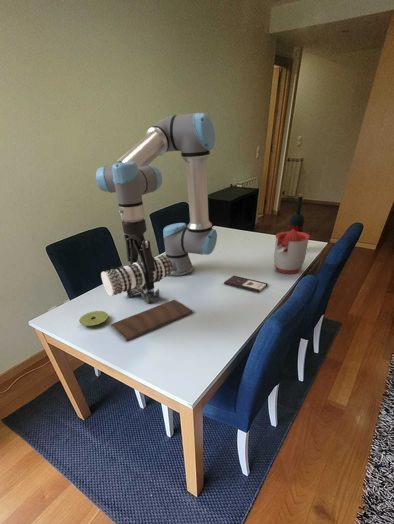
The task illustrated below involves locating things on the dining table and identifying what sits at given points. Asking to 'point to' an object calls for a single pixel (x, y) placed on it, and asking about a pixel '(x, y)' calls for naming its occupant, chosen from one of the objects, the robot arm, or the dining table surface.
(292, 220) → the wine bottle
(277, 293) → the dining table surface
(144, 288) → the foil
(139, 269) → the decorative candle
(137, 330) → the walnut board
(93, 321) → the mat
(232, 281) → the chocolate bar
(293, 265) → the citrus juicer
